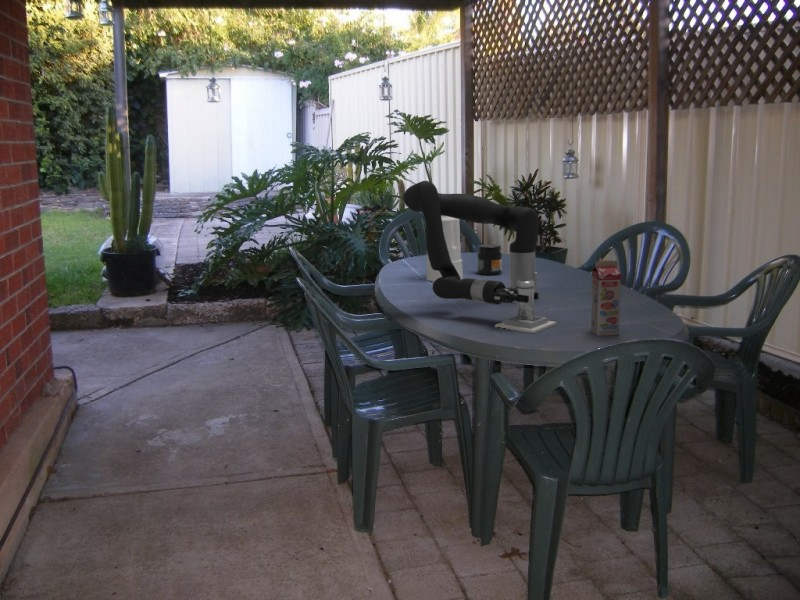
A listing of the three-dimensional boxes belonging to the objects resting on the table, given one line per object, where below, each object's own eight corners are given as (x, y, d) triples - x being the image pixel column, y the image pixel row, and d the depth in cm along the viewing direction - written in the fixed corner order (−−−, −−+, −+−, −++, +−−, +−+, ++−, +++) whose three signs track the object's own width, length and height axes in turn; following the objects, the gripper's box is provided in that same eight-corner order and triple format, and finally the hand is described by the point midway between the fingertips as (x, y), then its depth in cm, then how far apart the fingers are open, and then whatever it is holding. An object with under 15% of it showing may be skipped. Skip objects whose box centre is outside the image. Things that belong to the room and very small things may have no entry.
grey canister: (529, 315, 265) (529, 279, 263) (537, 319, 260) (537, 281, 258) (513, 317, 264) (514, 280, 261) (521, 321, 258) (521, 283, 256)
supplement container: (507, 273, 353) (507, 246, 350) (486, 276, 348) (486, 248, 345) (492, 270, 362) (492, 243, 359) (472, 273, 356) (472, 245, 354)
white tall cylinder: (442, 274, 356) (441, 195, 349) (470, 277, 346) (470, 197, 339) (419, 279, 345) (417, 199, 338) (447, 283, 335) (446, 200, 328)
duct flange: (518, 318, 272) (518, 311, 272) (556, 324, 263) (556, 317, 263) (495, 327, 262) (495, 320, 261) (533, 333, 253) (533, 326, 252)
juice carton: (590, 330, 255) (592, 259, 250) (611, 329, 255) (614, 258, 251) (597, 335, 249) (599, 263, 244) (618, 334, 249) (621, 262, 244)
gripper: (475, 283, 263) (521, 289, 253) (500, 276, 274) (545, 282, 263) (475, 306, 265) (520, 313, 254) (499, 299, 276) (544, 305, 265)
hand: (533, 297), depth 259 cm, fingers closed on grey canister, 5 cm apart
